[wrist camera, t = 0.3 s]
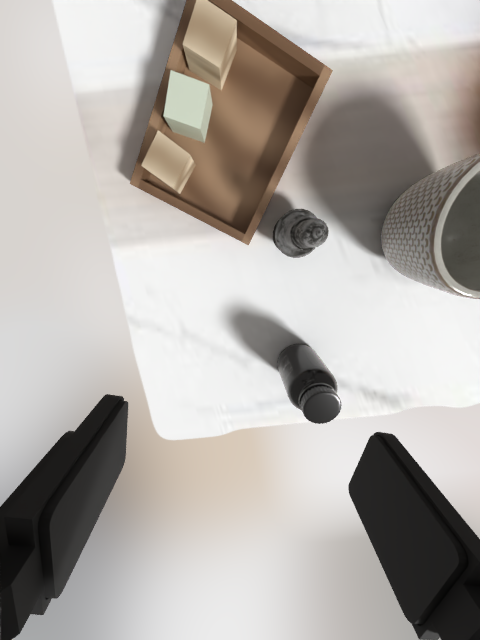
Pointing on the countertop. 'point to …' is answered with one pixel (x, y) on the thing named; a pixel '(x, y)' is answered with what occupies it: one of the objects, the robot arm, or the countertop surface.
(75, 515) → the robot arm
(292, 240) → the salt shaker
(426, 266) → the planter
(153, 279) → the countertop surface
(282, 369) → the supplement bottle
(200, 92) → the cube
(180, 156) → the cube
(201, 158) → the tray
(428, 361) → the countertop surface
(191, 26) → the cube
